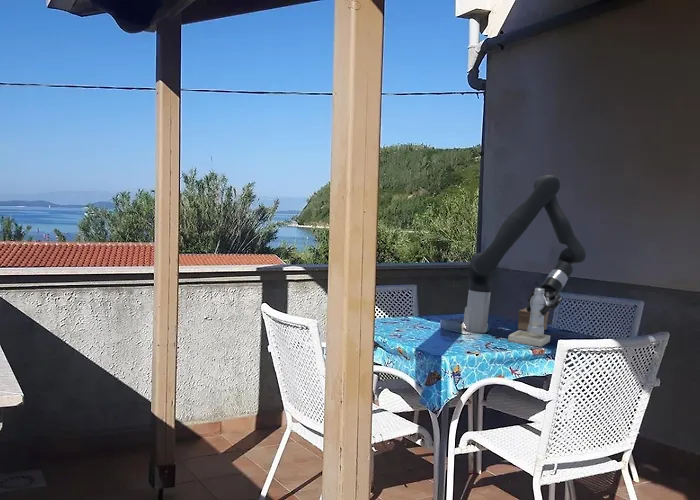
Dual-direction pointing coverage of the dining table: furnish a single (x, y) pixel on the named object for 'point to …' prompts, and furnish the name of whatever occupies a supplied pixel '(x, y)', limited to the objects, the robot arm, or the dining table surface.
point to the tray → (528, 339)
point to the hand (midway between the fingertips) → (535, 312)
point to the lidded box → (528, 319)
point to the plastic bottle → (536, 314)
